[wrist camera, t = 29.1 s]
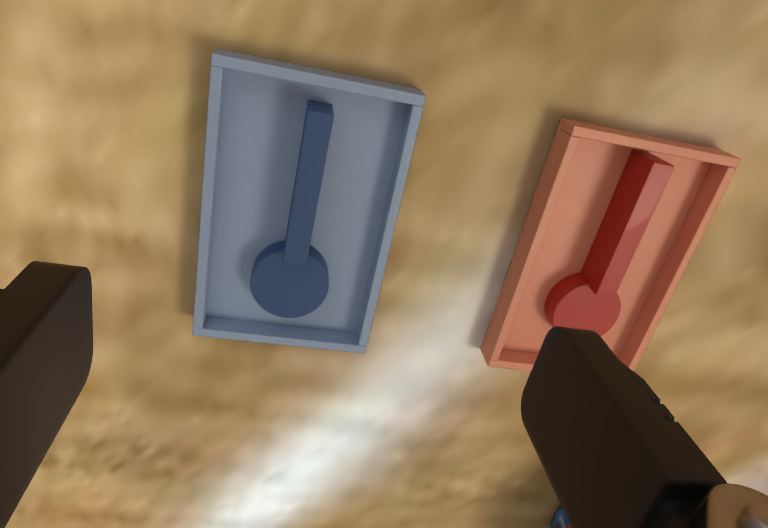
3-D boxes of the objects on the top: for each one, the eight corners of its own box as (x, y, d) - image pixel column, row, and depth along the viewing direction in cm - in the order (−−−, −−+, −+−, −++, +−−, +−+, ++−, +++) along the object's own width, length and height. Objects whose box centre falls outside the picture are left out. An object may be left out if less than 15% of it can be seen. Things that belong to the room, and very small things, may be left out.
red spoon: (594, 333, 41) (611, 355, 38) (534, 325, 40) (548, 347, 37) (675, 157, 35) (700, 170, 33) (606, 144, 34) (627, 156, 32)
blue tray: (217, 48, 29) (211, 52, 28) (419, 89, 32) (426, 95, 30) (198, 318, 37) (192, 335, 35) (362, 336, 39) (365, 353, 37)
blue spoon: (321, 309, 37) (321, 331, 35) (248, 299, 36) (243, 322, 34) (362, 110, 31) (366, 121, 29) (276, 92, 30) (273, 102, 28)
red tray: (560, 117, 33) (574, 125, 32) (721, 149, 35) (742, 158, 34) (480, 349, 41) (487, 366, 39) (616, 364, 43) (629, 381, 41)
